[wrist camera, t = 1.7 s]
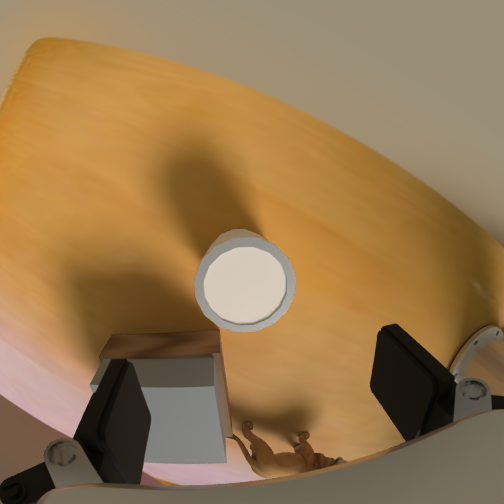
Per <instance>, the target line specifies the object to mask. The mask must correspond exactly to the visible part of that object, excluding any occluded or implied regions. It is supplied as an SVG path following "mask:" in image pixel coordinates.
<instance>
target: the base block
mask: <svg viewBox="0 0 504 504" xmlns="http://www.w3.org/2000/svg"><path fill="white" fill-rule="evenodd" d="M208 357H214V359H215V367H216V375H217V383H218V390H219V398H220V405H221V412H222V419H223V425H224V432H225V437H233V433H232V421H231V409H230V403H229V396H228V389H227V382H226V375H225V368H224V360H223V353H222V345H221V337H220V329H219V330H206V331H192V332H176V333H155V334H126V335H112V336H111V337H110V339H109V341H108V342H107V344H106V346H105V347H104V349H103V351H102V352H101V354H100V356H99V358H100V361H101V363H102V361H103V360H104V358H109V359H125V358H126V359H183V358H208Z"/></svg>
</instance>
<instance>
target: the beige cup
mask: <svg viewBox="0 0 504 504" xmlns="http://www.w3.org/2000/svg"><path fill="white" fill-rule="evenodd" d="M295 280H296V275H295V273H294V270H293V268H292V265H291V263H290V260H289V258H288V257H287V256H286V255H285V254H284V253H283V252H282V251H281V250H280V249H279V248H278V247H277V246H276V245H275V244H273V243H271V242H270V241H268V240H267V239H265V238H263V237H262V236H260V235H259V234H257V233H255V232H252V231H249V230H247V229H232V230H229V231H227V232H225V233H223V234H220V236H219V237H218V238H217V239H216V240H215V241H214V242H213V243H212V244H211V246H210V247H209V249H208V251H207V252H206V254H205V255H204V257H203V259H202V260H201V262H200V265H199V268H198V271H197V273H196V276H195V279H194V284H195V297H196V300H197V302H198V304H199V306H200V308H201V310H202V312H203V313H204V315H205V316H206V317H207V318H209V319H210V320H211V321H212V322H214V323H215V324H216V325H217V326H219V327H221V328H224V329H228V330H231V331H234V332H255V331H258V330H261V329H263V328H265V327H268V326H270V325H272V324H274V323H275V322H276V321H277V320H278V319H279V318H280V317H281V316H282V315H283V314H285V313H286V312H287V310H288V308H289V306H290V304H291V302H292V300H293V297H294V295H295Z"/></svg>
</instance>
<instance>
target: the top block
mask: <svg viewBox="0 0 504 504" xmlns="http://www.w3.org/2000/svg"><path fill="white" fill-rule="evenodd" d="M127 360H128V362H132V363H133V365H134V368H135V371H136V374H137V377H138V380H139V383H140V386H141V389H142V392H143V395H144V397H145V400H146V403H147V406H148V408H149V411H150V414H151V426H150V431H149V436H148V441H147V447H146V452H145V458H144V462H150V463H170V464H212V463H227V462H226V446H225V432H224V425H223V419H222V412H221V405H220V398H219V390H218V383H217V375H216V367H215V359H214V357H208V358H183V359H127ZM110 361H111V359H109V358H104V360H103V361H102V363H101V365H100V367H99V369H98V370H97V372H96V374H95V376H94V378H93V380H92V381H91V383H90V386H91V389H92V391H93V393H94V392H96V390H97V388H98V386H99V383H100V381H101V379H102V377H103V375H104V373H105V371H106V369H107V367H108V365H109V363H110Z"/></svg>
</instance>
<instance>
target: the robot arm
mask: <svg viewBox="0 0 504 504" xmlns="http://www.w3.org/2000/svg"><path fill="white" fill-rule="evenodd" d="M370 388H371V391H372V393H373V394H374V395H375V397H376V398H377V400H378V401H379V403H380V404H381V406H382V407H383V408H384V410H385V411H386V413H387V414H388V416H389V417H390V419H391V420H392V422H393V423H394V425H395V426H396V427H397V429H398V430H399V432H400V433H401V435H402V436H403V438H404V439H405V441H406V442H405V443H402V444H400V445H397V446H395V447H392V448H389V449H386V450H384V451H381V452H378V453H375V454H372V455H369V456H366V457H362V458H359V459H356V460H352V461H349V462H345V463H342V464H338V465H334V466H330V467H326V468H322V469H318V470H314V471H309V472H305V473H300V474H295V475H289V476H284V477H278V478H271V479H264V480H257V481H249V482H240V483H229V484H215V485H189V486H161V485H140V481H141V475H142V469H143V464H144V458H145V452H146V447H147V441H148V436H149V431H150V426H151V414H150V411H149V408H148V406H147V403H146V400H145V397H144V395H143V392H142V389H141V386H140V383H139V380H138V377H137V374H136V371H135V368H134V365H133V363H132V362H128V360H127V359H126V358H125V359H111V361H110V363H109V365H108V367H107V369H106V371H105V373H104V375H103V377H102V379H101V381H100V383H99V386H98V388H97V390H96V392H94V393H93V395H92V397H91V399H90V401H89V403H88V405H87V408H86V410H85V412H84V414H83V416H82V419H81V421H80V423H79V425H78V428H77V430H76V432H75V435H74V437H73V439H71V438H60V439H56V440H54V441H53V442H51V443H50V444H49V445H48V446H47V447H46V449H45V450H44V455H43V456H44V461H45V462H43V463H41V464H39V465H36V466H34V467H32V468H30V469H28V470H25V471H23V472H21V473H18V474H16V475H14V476H11V477H9V478H7V479H6V480H4V481H3V482H2V483H1V485H0V504H504V335H503V332H502V330H501V329H500V328H498V327H497V326H494V325H489V326H486V327H484V328H482V329H480V330H479V331H477V332H476V333H475V334H474V335H473V336H472V337H471V338H470V339H469V340H468V341H467V342H466V343H465V345H464V346H463V347H462V348H461V350H460V351H459V353H458V354H457V356H456V358H455V359H454V361H453V363H452V365H451V367H450V370H447V369H446V368H445V367H444V366H443V365H442V364H441V363H440V362H439V361H438V360H437V359H436V358H434V357H433V356H432V355H431V354H430V353H429V352H428V351H427V350H426V349H425V348H423V347H422V346H421V345H420V344H419V343H418V342H417V341H416V340H415V339H413V338H412V337H411V336H410V335H409V334H408V333H407V332H406V331H404V330H403V329H402V328H401V327H400V326H399V325H398V324H391V325H387V326H383V327H382V328H381V331H379V332H378V335H377V342H376V349H375V356H374V363H373V369H372V375H371V381H370Z"/></svg>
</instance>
